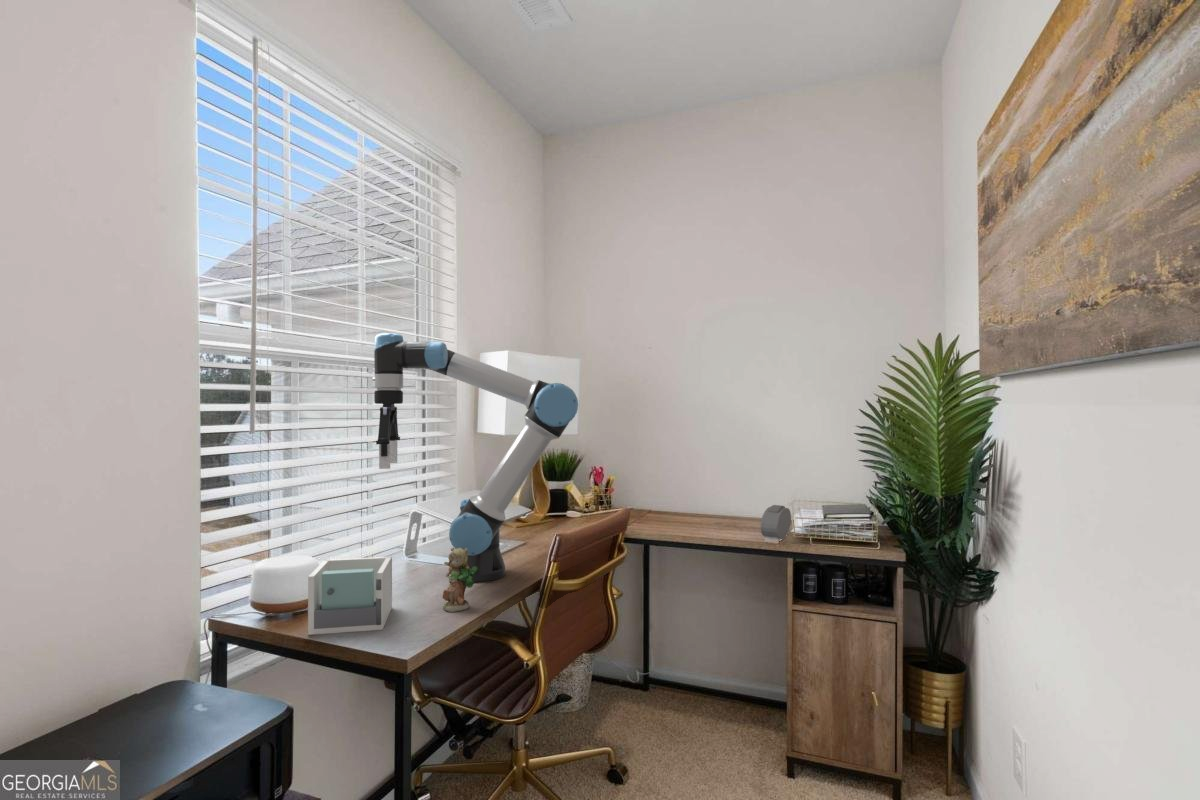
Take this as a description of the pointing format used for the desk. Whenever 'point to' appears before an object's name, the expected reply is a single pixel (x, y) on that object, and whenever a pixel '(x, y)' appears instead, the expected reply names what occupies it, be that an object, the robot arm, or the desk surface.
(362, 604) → the door
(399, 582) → the desk surface
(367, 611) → the cabinet
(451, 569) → the figurine
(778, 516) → the alarm clock
